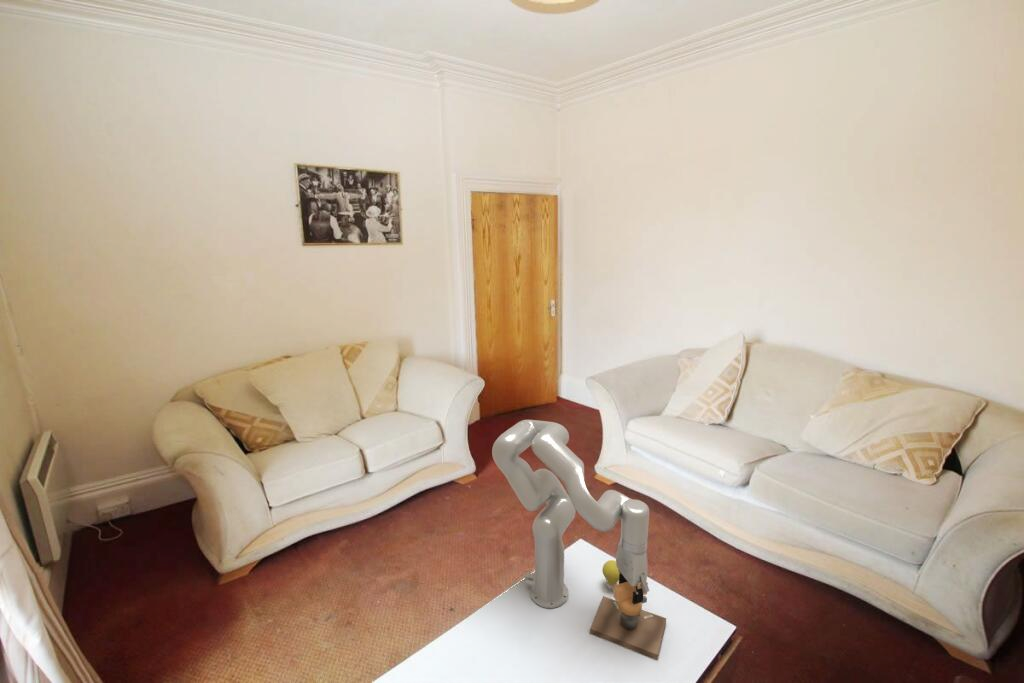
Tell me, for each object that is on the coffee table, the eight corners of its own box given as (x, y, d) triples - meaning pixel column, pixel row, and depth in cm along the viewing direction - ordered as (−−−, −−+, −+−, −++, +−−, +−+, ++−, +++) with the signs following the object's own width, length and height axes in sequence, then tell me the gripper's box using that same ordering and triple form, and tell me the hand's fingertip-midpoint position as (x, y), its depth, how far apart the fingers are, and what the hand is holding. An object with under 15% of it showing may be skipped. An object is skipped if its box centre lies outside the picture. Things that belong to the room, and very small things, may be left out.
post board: (589, 633, 142) (590, 612, 140) (602, 601, 154) (603, 580, 152) (657, 660, 133) (659, 637, 131) (665, 623, 145) (667, 602, 143)
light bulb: (621, 596, 156) (623, 571, 153) (601, 593, 157) (602, 568, 155) (621, 581, 162) (622, 557, 160) (601, 579, 164) (602, 554, 161)
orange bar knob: (621, 619, 137) (622, 597, 135) (609, 601, 143) (610, 579, 141) (652, 610, 140) (654, 588, 138) (639, 593, 147) (640, 571, 145)
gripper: (607, 526, 143) (605, 575, 147) (639, 565, 127) (635, 619, 131) (628, 521, 145) (626, 570, 150) (662, 558, 129) (658, 612, 134)
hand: (630, 592), depth 140 cm, fingers open, 6 cm apart
